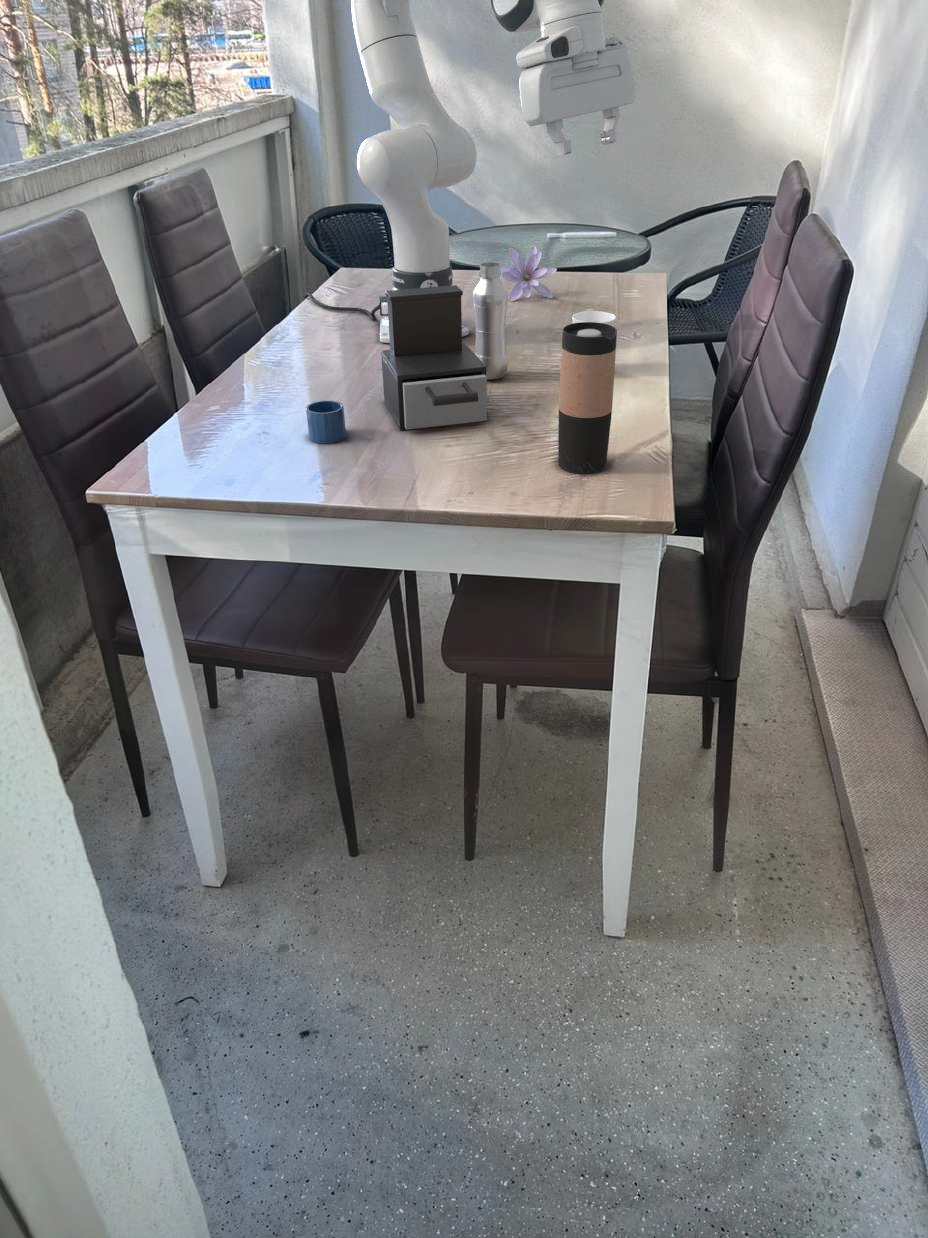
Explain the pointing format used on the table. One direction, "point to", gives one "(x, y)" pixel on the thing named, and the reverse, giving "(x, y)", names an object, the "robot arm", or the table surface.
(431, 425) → the grey drawer
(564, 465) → the travel mug
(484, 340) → the silver water bottle
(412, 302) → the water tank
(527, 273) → the water lily
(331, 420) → the blue cup
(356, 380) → the table surface
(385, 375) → the dark grey box
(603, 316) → the white cup
